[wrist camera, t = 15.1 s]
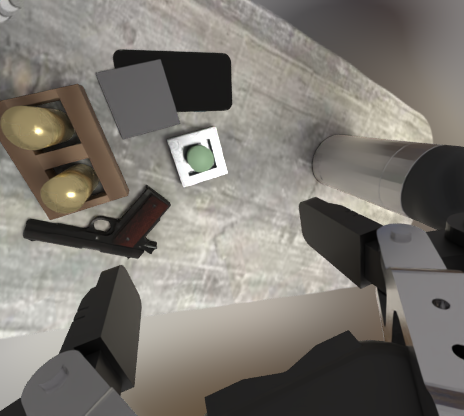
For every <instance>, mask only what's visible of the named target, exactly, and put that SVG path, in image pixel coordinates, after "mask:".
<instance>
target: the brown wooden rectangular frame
mask: <svg viewBox="0 0 464 416" xmlns="http://www.w3.org/2000/svg"><path fill="white" fill-rule="evenodd" d="M60 100H61V102H62V104H63V106H64V109H65V111H66V113H67V115H68V117H69V119H70V121H71V123H72V125H73V127H74V129H75V131H76V133H77V135H78V137H79V139H80V141H81V143H79V144H75V145H71V146H67V147H64V148H60V149H56V150H52V151H49V152H45V153H44V152H43V150H42V149H39V150H26V149H23V148H20V147H18V146H16V145H14V144H13V143H11V142H10V141H9V140H8V139H7V138H6V136H5V135H4V133H3V131H2V129H1V117H2V115H3V114H4V112H5V111H6V110H8V109H9V108H11V107H15V106H29V107H33V106H38V105H42V104H47V103H51V102H55V101H60ZM0 142H1V143H2V145H3V146H4V148H5V149H6V151H7V153H8V154H9V156H10V157H11V159H12V161H13V162H14V164H15V165H16V167H17V169H18V170H19V172H20V173H21V175H22V176H23V178H24V180H25V181H26V183H27V184H28V186H29V188H30V189H31V191H32V192H33V194H34V196H35V197H36V199H37V200H38V202H39V203H40V205H41V207H42V208H43V210H44V211H45V213H46V215H47V216H48V218H49V219H50V220H52V219H56V218H59V217H62V216H65V215H68V214H71V213H58V212H55V211H53V210H51V209H49V208H48V207H47V206H46V205H45V204H44V202H43V201H42V198H41V189H42V187H43V185H44V184H45V183H46V182H47V181H49V180H50V179H52V178H53V177H55V176H57V175H56V173H55V171H54V170H53V167H57V166H60V165H64V164H68V163H71V162H75V161H78V160H82V159H86V158H89V159H90V161H91V163H92V166H93V168H94V170H95V172H96V174H97V176H98V178H99V180H100V182H101V184H102V186H103V188H104V190H105V192H102V193H99V194H96V195H93V196H89V197H88V199H87V200H86V201H85V203H84V204H83V205H82V207H81V208H80V209H78V210H77V211H75V212H78V211H81V210H84V209H87V208H90V207H94V206H97V205H100V204H103V203H106V202H109V201H113V200H116V199H119V198H122V197H125V196H128V194H129V189H128V186H127V184H126V182H125V180H124V177H123V175H122V173H121V171H120V168H119V166H118V164H117V162H116V159H115V157H114V155H113V153H112V150H111V148H110V146H109V144H108V142H107V139H106V137H105V135H104V133H103V130H102V128H101V126H100V124H99V121H98V119H97V117H96V115H95V112H94V110H93V108H92V106H91V103H90V101H89V99H88V97H87V94H86V92H85V90H84V88H83V86H81V85H79V84H75V85H71V86H66V87H61V88H57V89H52V90H48V91H43V92H39V93H34V94H30V95H25V96H21V97H16V98H11V99H7V100H2V101H0ZM75 212H72V213H75Z"/></svg>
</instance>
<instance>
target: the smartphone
mask: <svg viewBox="0 0 464 416" xmlns="http://www.w3.org/2000/svg"><path fill="white" fill-rule="evenodd" d="M159 59H161V63H162V66H163V69H164V72H165V75H166V79H167V82H168V85H169V88H170V92H171V95H172V98H173V101H174V105H175V108H176V111H177V112H192V111H194V112H206V111H225V110H228V109H230V107H231V106H232V82H231V60H230V58H229V56H228V55H227V54H224V53H202V52H174V51H146V50H117V51H116V52H115V53H114V56H113V60H114V65H115V69H117V68H122V67H126V66H131V65H136V64H140V63H145V62H150V61H154V60H159Z"/></svg>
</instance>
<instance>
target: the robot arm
mask: <svg viewBox="0 0 464 416" xmlns="http://www.w3.org/2000/svg"><path fill="white" fill-rule="evenodd" d="M313 173H314V175H315V177H316V179H317V180H318V181H319V182H320V183H322V184H325V185H327V186H330V187H332V188H335V189H337V190H339V191H342V192H344V193H347V194H350V195H352V196H355V197H357V198H360V199H362V200H365V201H367V202H370V203H372V204H375V205H377V206H380V207H383V208H385V209H388V210H390V211H393V212H396V213H398V214H401V215H403V216H406V217H408V218H411V219H413V220H416V221H419V222H421V223H423V224H426V225H428V226H430V227H432V228H434V229H437V230H436V231H430V232H425V231H424V230H422V229H420V228H418V227H416V226H412V225H408V224H388V225H384V226H383V225H381V224H379V223H377V222H375V221H373V220H371V219H369V218H367V217H364V216H362V215H360V214H359V215H358V213H356V212H354V211H351V210H350V209H348V208H346V207H344V206H342V205H337V204H332V203H327V202H325V201H323V200H321V199H319V198H317V197H314V198H311V199H308V200H306V201H303V202H300V204H299V212H300V220H301V227H302V233H303V237H304V239H305V241H306V242H307V243H308V244H309V245H310V246H311V247H312V248H313V249H315V250H316V251H317V252H318V253H319V254H320V255H322V256H323V257H324V258H325V259H326V260H327V261H329V262H330V263H331V264H332V265H333V266H335V267H336V268H337V269H338V270H339V271H340V272H342V273H343V274H344V275H345V276H346V277H347V278H349V279H350V280H351V281H352V282H353V283H355V284H356V285H357V286H358V287H359V288H363V287H366V286H368V285H370V284H373V285H375V286H376V297H377V303H378V308H379V314H380V318H381V324H382V330H383V335H384V341H375V340H366V341H358V340H357V339H356V338H355V337H354V336H353V335H352V334H351V332H350V331H346V332H344V333H341V334H339V335H337V336H335V337H333V338H331V339H329V340H326V341H324V342H322V343H320V344H318V345H316V346H315V347H314V348H312V349H311V350H310V351H309V352H308V353H307V354H306V355H305V356H303V357H302V358H301V359H300V360H299V361H298V362H297V363H296V364H294V365H293V366H292V367H291V368H290V369H289V370H287V371H286V372H283V373H278V374H272V375H267V376H261V377H254V378H249V379H243V380H241V381H239V382H236V383H234V384H232V385H230V386H228V387H226V388H224V389H221V390H219V391H217V392H215V393H213V394H211V395H209V396H207V397H205V403H206V409H207V413H206V414H205V415H204V416H464V147H461V146H451V145H438V144H429V143H417V142H407V141H397V140H387V139H377V138H367V137H358V136H348V135H334V136H330V137H329V138H327V139H326V140H324V141H323V142H322V143H321V144H320V146H319V147H318V149H317V150H316V152H315V155H314V158H313ZM141 309H142V306H141V300H140V296H139V294H138V292H137V290H136V288H135V286H134V284H133V282H132V280H131V278H130V276H129V274H128V272H127V270H126V269H125V267H124V266H123V265H119V266H117V267H114V268H111V269H108V270H105V271H103V272H101V275H100V277H99V280H98V283H97V285H96V287H94V288H91V289H90V291H89V292H88V293H87V294H86V295H85V297H84V298H83V299H82V301H81V303H80V305H79V308H78V310H77V311H78V312H77V313H76V315H75V317H74V319H73V320H74V322H72V324H71V326H70V329H69V331H68V333H67V336H66V338H65V341H64V343H63V345H62V348H61V350H60V352H59V354H58V355H57V356H55V357H54V358H52V359H50V360H49V361H48V362H46V363H45V364H44V365H43V366H41V367H40V368H39V369H38V370H37V371H36V372H35V374H34V375H33V376H32V377H31V379H30V380H29V381H28V382H27V384H26V386H25V388H24V390H23V393H22V396H21V398H19V399H18V400H16V401H15V402H13V403H12V404H10V405H9V406H7V407H6V408H4V409H3V410H1V411H0V416H137V415H136V414H135V412H134V411H133V410H132V409H131V408H130V407H129V406H128V404H127V403H126V402H125V401H124V400H123V399H122V398H121V396H120V395H121V392H124V391H125V390H128V389H131V388H132V387H134V384H135V373H136V362H137V350H138V341H139V330H140V319H141Z"/></svg>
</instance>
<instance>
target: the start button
mask: <svg viewBox="0 0 464 416" xmlns="http://www.w3.org/2000/svg"><path fill="white" fill-rule="evenodd" d="M186 159H187V162H188V164H189V166H190V167H191V168H192V169H193V170H194V171H196V172H206V171H208V170H209V169H210V168H211V167H212V165H213V163H214V156H213V153H212V152H211V150H210V149H208V148H207V147H205V146H203V145H194V146H192V147H191V148H190V149H189V150H188V152H187V155H186Z"/></svg>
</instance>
